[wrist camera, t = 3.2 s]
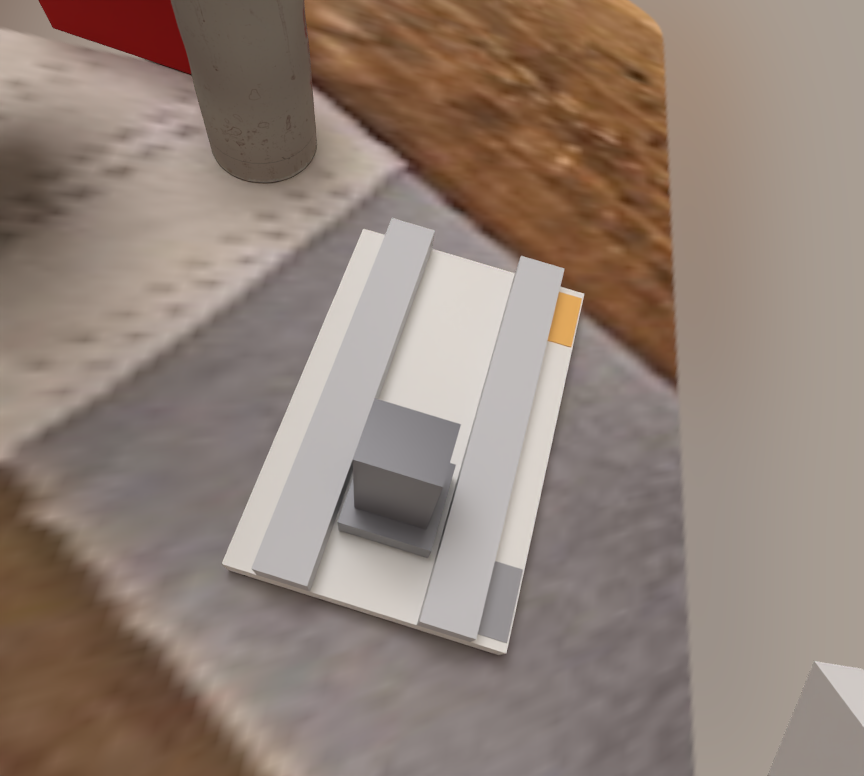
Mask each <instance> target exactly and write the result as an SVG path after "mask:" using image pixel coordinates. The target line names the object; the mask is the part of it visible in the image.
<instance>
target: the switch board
mask: <svg viewBox="0 0 864 776" xmlns="http://www.w3.org/2000/svg"><path fill="white" fill-rule="evenodd" d="M434 233H435V230H431V229H428V228H425V227H421V226H418V225H414V224H411V223H408V222H404V221H401V220H397V219H394V218H392V219H391V222H390V224H389V227H388V229H387V232H386V234H385V235H383V234H380V233H377V232H373V231H370V230H366V229H363V231H362V233H361V236H360V238H359V241H358V243H357V245H356V248H355V250H354V252H353V255H352V257H351V259H350V262H349V264H348V267H347V269H346V271H345V274H344V276H343V278H342V281H341V283H340V285H339V288H338V290H337V293H336V295H335V297H334V300H333V302H332V304H331V307H330V309H329V311H328V314H327V316H326V319H325V321H324V323H323V326H322V328H321V330H320V333H319V335H318V337H317V340H316V342H315V345H314V347H313V349H312V352H311V354H310V356H309V359H308V361H307V363H306V366H305V368H304V371H303V373H302V375H301V378H300V380H299V382H298V385H297V387H296V389H295V392H294V394H293V397H292V399H291V401H290V404H289V406H288V408H287V411H286V413H285V415H284V418H283V420H282V423H281V425H280V427H279V430H278V432H277V434H276V437H275V439H274V441H273V444H272V446H271V449H270V451H269V453H268V456H267V458H266V460H265V463H264V465H263V467H262V470H261V472H260V475H259V477H258V479H257V482H256V484H255V486H254V489H253V491H252V493H251V496H250V498H249V501H248V503H247V505H246V508H245V510H244V512H243V515H242V517H241V519H240V522H239V524H238V526H237V529H236V531H235V534H234V536H233V538H232V541H231V543H230V545H229V548H228V550H227V552H226V555H225V557H224V560H223V562H222V565H223V566H224V567H226V568H227V569H228V570H229V571H233V572H236V573H239V574H242V575H245V576H249V577H252V578H255V579H258V580H261V581H264V582H268V583H271V584H274V585H277V586H280V587H284V588H287V589H290V590H293V591H296V592H299V593H303V594H306V595H309V596H312V597H315V598H319V599H322V600H325V601H328V602H331V603H334V604H338V605H341V606H344V607H347V608H350V609H354V610H357V611H360V612H363V613H366V614H369V615H373V616H376V617H379V618H382V619H385V620H389V621H392V622H395V623H398V624H401V625H404V626H408V627H411V628H414V629H417V630H420V631H424V632H427V633H430V634H433V635H436V636H439V637H443V638H446V639H449V640H452V641H455V642H459V643H462V644H465V645H468V646H471V647H474V648H478V649H481V650H484V651H487V652H490V653H493V654H497V655H502V654H506V653H507V648H508V643H509V639H510V634H511V630H512V625H513V620H514V616H515V611H516V606H517V602H518V597H519V593H520V588H521V583H522V579H523V574H524V569H525V565H526V560H527V556H528V551H529V546H530V542H531V537H532V533H533V528H534V523H535V519H536V514H537V509H538V505H539V500H540V496H541V491H542V486H543V482H544V477H545V472H546V468H547V463H548V459H549V454H550V449H551V445H552V440H553V436H554V431H555V426H556V422H557V417H558V412H559V408H560V403H561V399H562V394H563V389H564V385H565V380H566V375H567V371H568V366H569V362H570V357H571V352H572V348H573V343H574V339H575V334H576V329H577V325H578V320H579V315H580V311H581V306H582V302H583V297H584V294H583V293H580V292H576V291H573V290H569V289H566V288H563V287H560V285H561V281H562V277H563V273H564V268H560V267H557V266H554V265H550V264H547V263H544V262H540V261H537V260H533V259H530V258H527V257H523V256H521V258H520V260H519V263H518V266H517V268H516V271H515V273H512V272H509V271H505V270H502V269H498V268H495V267H492V266H488V265H485V264H481V263H478V262H475V261H471V260H468V259H465V258H461V257H458V256H454V255H451V254H448V253H444V252H441V251H437V250H434V249H432V246H433V239H434ZM374 398H376V399H379V400H383V401H386V402H389V403H392V404H396V405H399V406H402V407H406V408H409V409H412V410H415V411H419V412H422V413H425V414H429V415H432V416H435V417H439V418H442V419H445V420H448V421H452V422H455V423H458V424H461V426H460V430H459V433H458V437H457V440H456V444H455V447H454V450H453V454H452V457H451V461H450V463H452V464H456V466H455V470H454V473H453V477H452V481H451V484H450V488H449V491H448V495H447V498H446V502H445V505H444V509H443V512H442V516H441V519H440V523H439V526H438V530H437V534H436V537H435V541H434V544H433V548H432V551H431V553H430V555H429V557H428V558H426V557H422V556H419V555H416V554H413V553H410V552H406V551H403V550H400V549H397V548H393V547H390V546H387V545H384V544H381V543H377V542H374V541H371V540H368V539H364V538H361V537H358V536H355V535H352V534H348V533H345V532H342V531H339V530H338V523H337V522H338V519H339V516H340V513H341V510H342V507H343V505H344V502H345V499H346V496H347V493H348V491H349V488H350V485H351V482H352V479H353V457H354V454H355V451H356V449H357V446H358V443H359V440H360V437H361V435H362V432H363V429H364V426H365V424H366V421H367V418H368V415H369V412H370V410H371V407H372V404H373V401H374Z"/></svg>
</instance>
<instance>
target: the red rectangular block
mask: <svg viewBox="0 0 864 776" xmlns="http://www.w3.org/2000/svg"><path fill="white" fill-rule="evenodd" d="M39 2H40V4H41V6H42V8H43V10H44V11H45V13H46V15H47V17H48V19H49V21H50V23H51V25H52V27H53V28H55V29H58V30H61V31H64V32H67V33H70V34H72V35H75V36H79V37H82V38H84V39H87V40H91V41H94V42H97V43H99V44H102V45H106V46H108V47H112V48H114V49H117V50H120V51H123V52H126V53H129V54H132V55H135V56H138V57H141V58H144V59H147V60H150V61H153V62H156V63H159V64H162V65H165V66H168V67H171V68H174V69H177V70H180V71H183V72H186V73H189V74H192V73H191V69H190V64H189V60H188V56H187V53H186V49H185V46H184V43H183V40H182V37H181V34H180V31H179V28H178V25H177V21H176V18H175V14H174V11H173V7H172V3H171V0H39Z"/></svg>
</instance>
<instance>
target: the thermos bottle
mask: <svg viewBox="0 0 864 776" xmlns="http://www.w3.org/2000/svg"><path fill="white" fill-rule="evenodd" d="M171 3H172V7H173V11H174V14H175V18H176V21H177V25H178V28H179V31H180V34H181V37H182V40H183V43H184V46H185V49H186V53H187V56H188V60H189V64H190V69H191V73H192V78H193V83H194V87H195V91H196V94H197V98H198V102H199V105H200V109H201V112H202V116H203V120H204V123H205V127H206V131H207V134H208V138H209V142H210V145H211V149H212V152H213V154H214V157H215V159H216V160H217V162H218V163H219V164H220V166H221V167H222V168H224V169H225V170H226V171H227V172H228V173H230V174H232V175H234V176H236V177H238V178H241V179H243V180H246V181H252V182H262V183H268V182H277V181H281V180H284V179H288V178H290V177H292V176H294V175H296V174H298V173H299V172H300V171H302V170H303V169H304V168H305V167H306V166H307V165H308V164H309V163H310V162H311V160H312V158H313V156H314V154H315V151H316V142H317V140H316V127H315V114H314V102H313V89H312V77H311V64H310V52H309V41H308V34H307V26H306V19H305V7H304V0H171Z"/></svg>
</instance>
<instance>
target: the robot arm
mask: <svg viewBox="0 0 864 776" xmlns="http://www.w3.org/2000/svg"><path fill="white" fill-rule="evenodd" d="M768 776H864V670H863V669H860V668H854V667H848V666H842V665H835V664H830V663H823V662H817V661H814V663H813V665H812V668H811V670H810V673H809V675H808V677H807V680H806V682H805V685H804V687H803V690H802V692H801V695H800V697H799V700H798V702H797V704H796V707H795V709H794V712H793V714H792V717H791V719H790V721H789V724H788V727H787V729H786V732H785V734H784V736H783V739H782V741H781V744H780V746H779V748H778V751H777V754H776V756H775V758H774V761H773V763H772V766H771V768H770V771H769V773H768Z"/></svg>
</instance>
